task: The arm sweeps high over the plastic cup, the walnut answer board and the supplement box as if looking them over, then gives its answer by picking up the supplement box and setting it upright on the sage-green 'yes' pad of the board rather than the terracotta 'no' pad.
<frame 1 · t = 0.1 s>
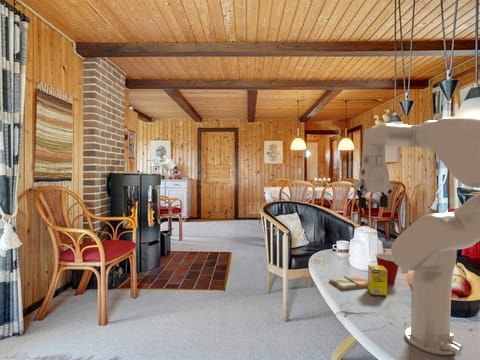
hand: (373, 207, 105), 37 cm above the table, tool pointing down, fingers open, 9 cm apart
plastic cup: (387, 282, 129), on the table
supplement box: (377, 294, 117), on the table
answer board: (351, 284, 126), on the table
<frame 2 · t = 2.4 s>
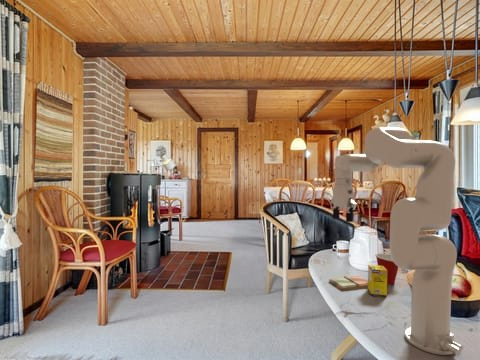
hand: (342, 219, 130), 28 cm above the table, tool pointing down, fingers open, 9 cm apart
nothing on the table moved.
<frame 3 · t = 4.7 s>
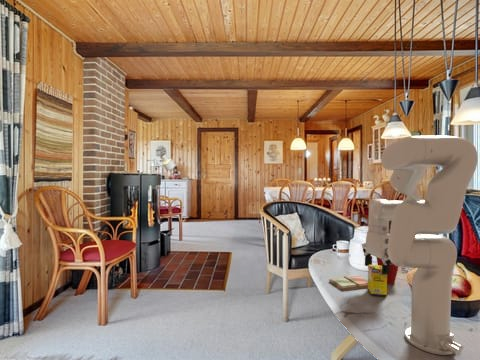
hand: (376, 269, 117), 10 cm above the table, tool pointing down, fingers open, 9 cm apart
supplement box: (377, 293, 117), on the table, touching gripper
everything else where it was.
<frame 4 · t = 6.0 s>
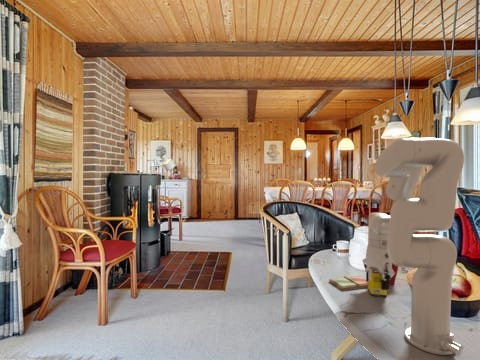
hand: (377, 285, 117), 4 cm above the table, tool pointing down, fingers closed on supplement box, 8 cm apart
supplement box: (377, 294, 117), on the table, touching gripper
everything else where it was.
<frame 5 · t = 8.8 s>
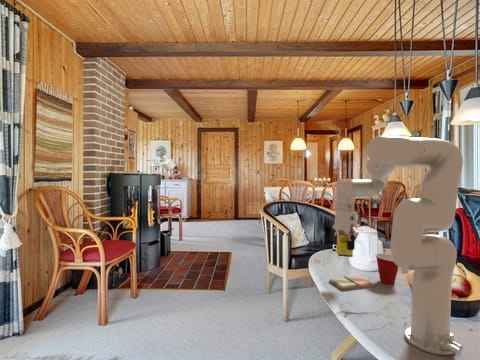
hand: (344, 246, 125), 17 cm above the table, tool pointing down, fingers closed on supplement box, 8 cm apart
supplement box: (344, 255, 125), point 13 cm above the table, touching gripper
everything else where it was.
when the fingers open (6 cm above the table, at t = 11.6 s): supplement box stays where it is, resting on answer board.
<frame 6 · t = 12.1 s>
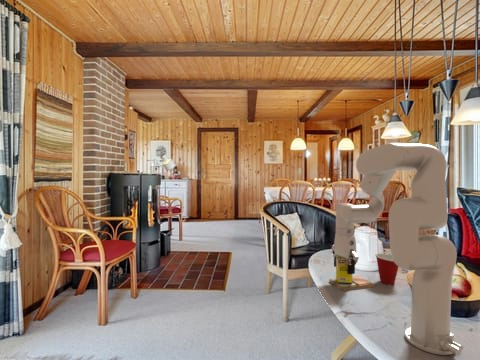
hand: (343, 269, 125), 7 cm above the table, tool pointing down, fingers open, 9 cm apart
supplement box: (344, 281, 125), point 2 cm above the table, touching answer board
everything else where it was.
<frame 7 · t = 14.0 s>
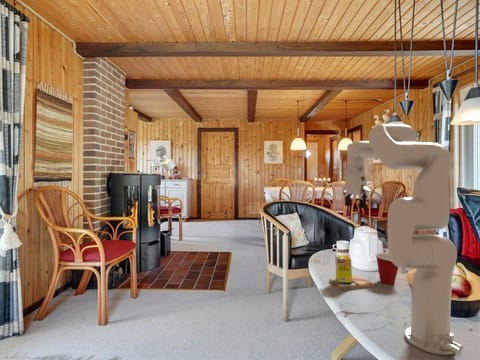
hand: (355, 207, 131), 34 cm above the table, tool pointing down, fingers open, 9 cm apart
nothing on the table moved.
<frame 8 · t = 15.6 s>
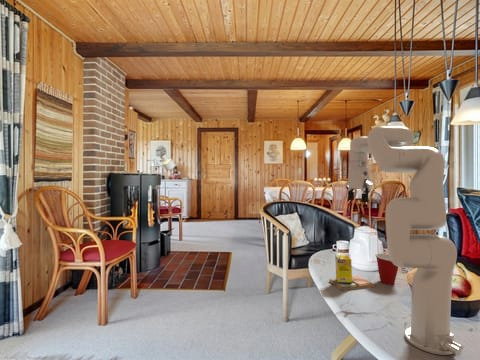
hand: (357, 201, 134), 36 cm above the table, tool pointing down, fingers open, 9 cm apart
nothing on the table moved.
at the end: supplement box inside the target area on the answer board (0.5 cm from its centre), point 1.5 cm above the answer board's base; supplement box tilted 4°; the gripper is holding nothing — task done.
